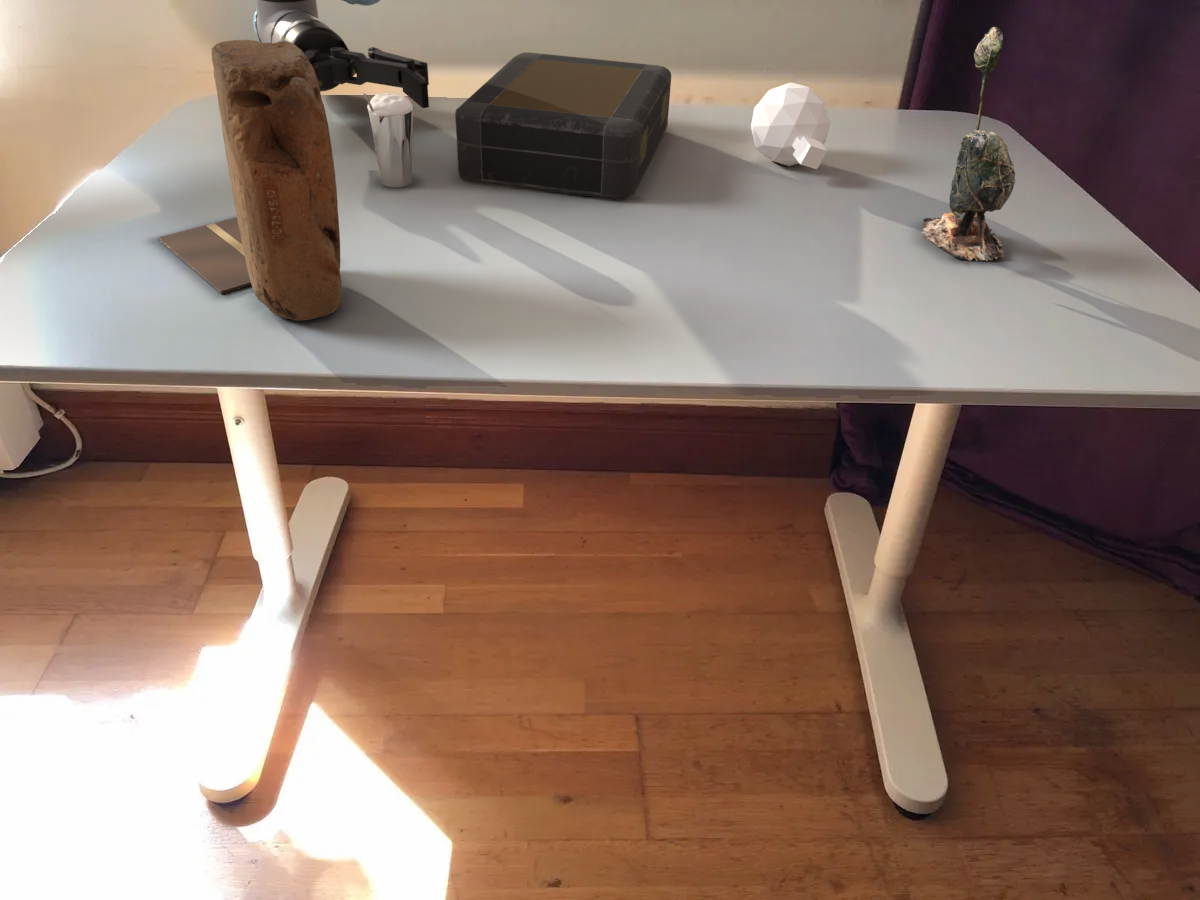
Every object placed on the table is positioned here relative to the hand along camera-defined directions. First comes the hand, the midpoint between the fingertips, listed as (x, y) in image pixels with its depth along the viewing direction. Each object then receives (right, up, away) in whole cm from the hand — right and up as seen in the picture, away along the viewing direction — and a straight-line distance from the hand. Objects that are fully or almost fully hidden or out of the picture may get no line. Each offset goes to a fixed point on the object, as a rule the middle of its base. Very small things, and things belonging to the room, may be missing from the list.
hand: (366, 102), depth 104 cm
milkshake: (+3, -9, -1) cm, 10 cm away
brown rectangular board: (-8, -19, -16) cm, 26 cm away
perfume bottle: (+47, -5, +8) cm, 48 cm away
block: (0, -25, -22) cm, 33 cm away
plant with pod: (+61, -18, -9) cm, 65 cm away
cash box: (+22, -3, +8) cm, 23 cm away
